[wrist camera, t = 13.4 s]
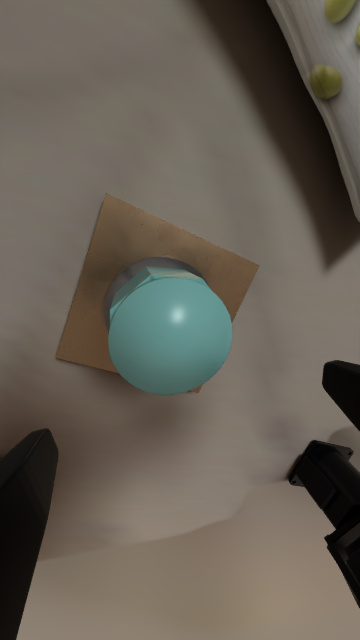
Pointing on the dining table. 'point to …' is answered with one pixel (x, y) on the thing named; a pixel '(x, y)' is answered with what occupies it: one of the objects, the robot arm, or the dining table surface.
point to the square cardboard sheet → (128, 260)
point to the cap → (168, 331)
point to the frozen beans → (329, 72)
